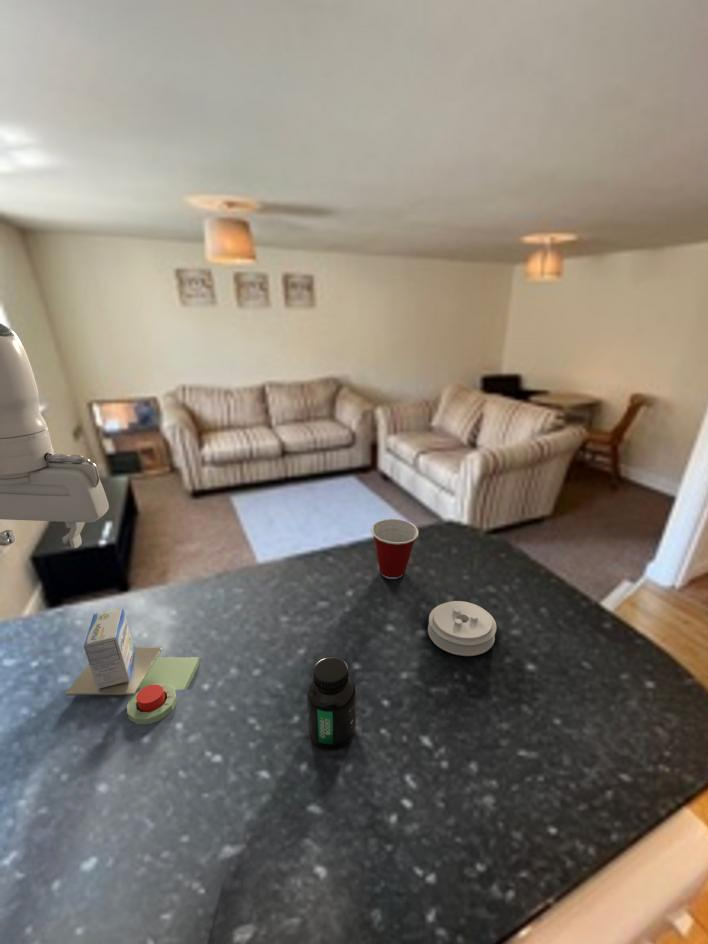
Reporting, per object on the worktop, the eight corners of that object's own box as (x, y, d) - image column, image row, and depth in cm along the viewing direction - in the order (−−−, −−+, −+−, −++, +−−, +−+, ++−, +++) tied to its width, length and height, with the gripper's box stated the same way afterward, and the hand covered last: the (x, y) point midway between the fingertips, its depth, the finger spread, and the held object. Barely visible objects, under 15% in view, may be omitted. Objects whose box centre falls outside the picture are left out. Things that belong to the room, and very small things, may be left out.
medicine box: (129, 682, 69) (117, 638, 65) (96, 690, 67) (82, 645, 64) (135, 649, 76) (124, 607, 72) (104, 655, 74) (92, 612, 70)
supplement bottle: (331, 761, 62) (329, 697, 57) (299, 732, 66) (294, 670, 61) (365, 729, 66) (366, 668, 61) (333, 704, 70) (331, 645, 65)
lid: (507, 648, 83) (511, 626, 81) (450, 668, 78) (453, 646, 76) (468, 609, 94) (471, 590, 92) (415, 625, 89) (417, 604, 87)
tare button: (134, 712, 65) (131, 703, 64) (145, 692, 68) (143, 684, 67) (159, 712, 65) (157, 703, 64) (169, 692, 68) (167, 684, 68)
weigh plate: (66, 695, 67) (65, 693, 67) (102, 648, 76) (101, 647, 76) (134, 695, 67) (133, 693, 67) (162, 649, 76) (161, 647, 76)
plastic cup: (383, 591, 99) (385, 544, 94) (362, 568, 107) (362, 523, 102) (424, 579, 104) (428, 533, 99) (400, 558, 112) (403, 515, 107)
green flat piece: (53, 734, 64) (47, 719, 63) (106, 662, 77) (102, 648, 76) (168, 733, 65) (164, 718, 64) (201, 662, 78) (199, 649, 77)
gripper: (106, 448, 62) (125, 537, 67) (-48, 442, 61) (-16, 532, 66) (79, 463, 56) (102, 558, 62) (-92, 456, 55) (-53, 553, 61)
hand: (39, 545), depth 64 cm, fingers open, 8 cm apart
